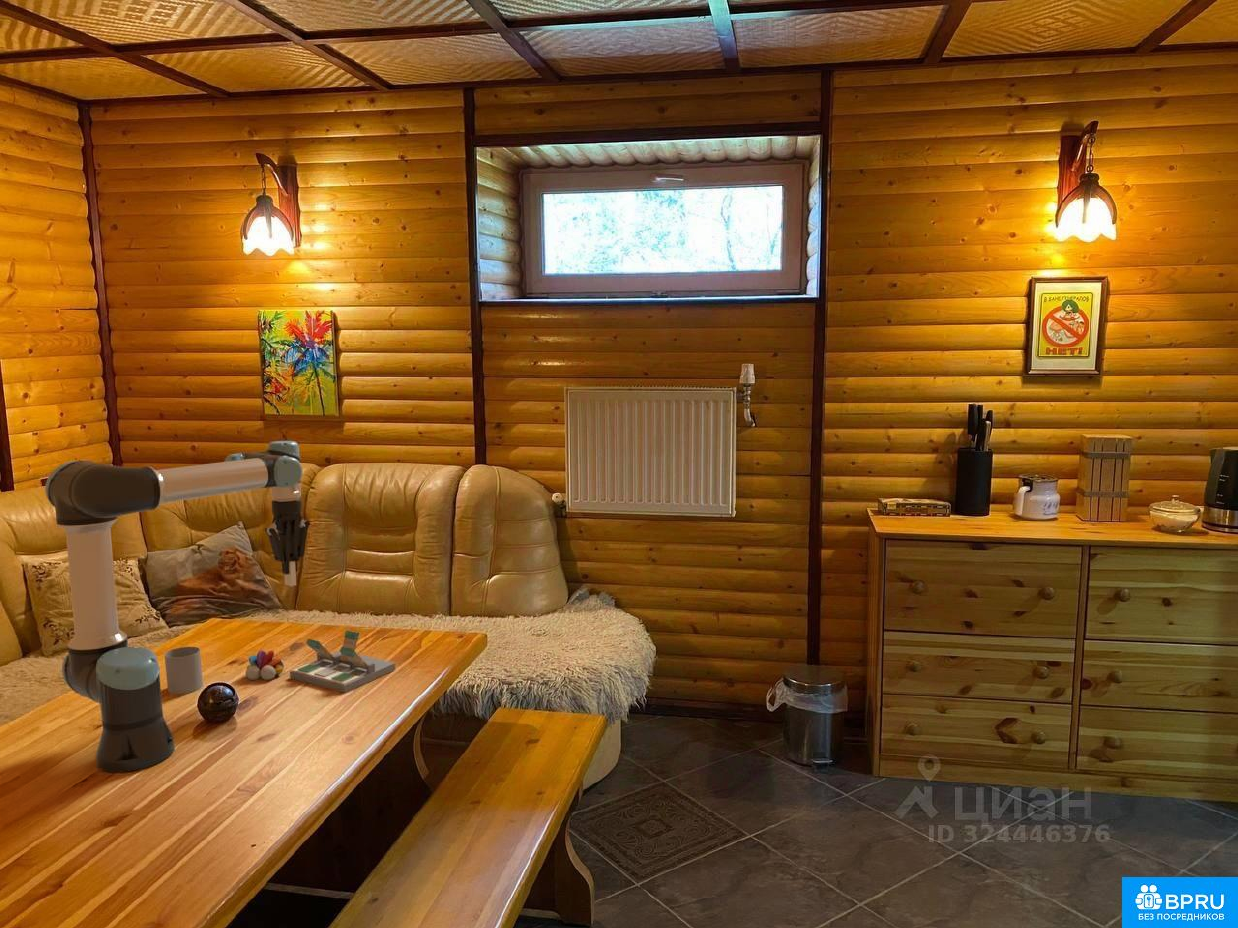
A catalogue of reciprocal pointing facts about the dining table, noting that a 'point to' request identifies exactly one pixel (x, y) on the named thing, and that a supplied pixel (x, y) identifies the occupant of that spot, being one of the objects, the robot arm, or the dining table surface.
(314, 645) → the lever
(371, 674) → the switch board
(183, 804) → the dining table surface
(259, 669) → the rainbow disc wheeled toy
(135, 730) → the robot arm
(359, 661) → the lever
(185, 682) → the cup
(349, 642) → the lever
